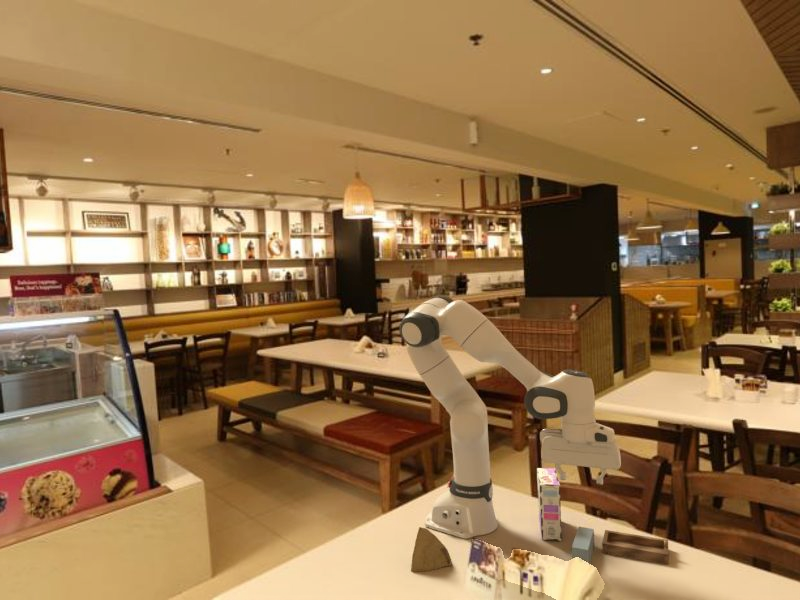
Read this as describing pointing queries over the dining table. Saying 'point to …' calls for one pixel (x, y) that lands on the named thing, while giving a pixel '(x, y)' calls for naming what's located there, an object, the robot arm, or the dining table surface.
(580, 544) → the key block
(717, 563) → the dining table surface
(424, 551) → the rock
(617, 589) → the dining table surface
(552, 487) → the candy box
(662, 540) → the open wooden box
